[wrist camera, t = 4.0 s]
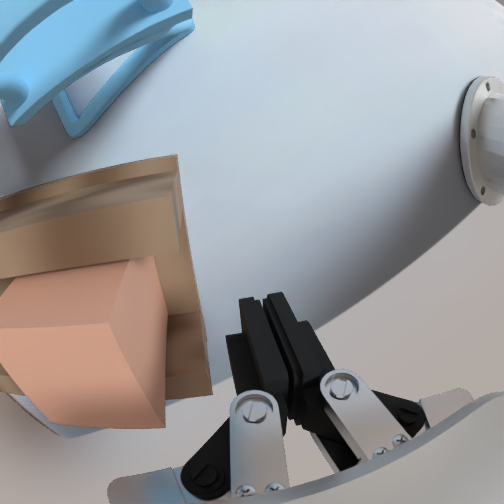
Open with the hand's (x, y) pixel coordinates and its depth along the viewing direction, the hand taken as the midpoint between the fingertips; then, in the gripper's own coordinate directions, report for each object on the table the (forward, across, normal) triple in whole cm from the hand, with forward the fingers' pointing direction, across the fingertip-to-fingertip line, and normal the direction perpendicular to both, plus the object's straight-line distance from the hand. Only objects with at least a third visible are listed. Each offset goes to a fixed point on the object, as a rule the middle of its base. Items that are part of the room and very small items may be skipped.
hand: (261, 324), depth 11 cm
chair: (+7, +6, -13) cm, 16 cm away
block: (+6, +8, 0) cm, 9 cm away
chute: (+7, +14, 0) cm, 15 cm away
